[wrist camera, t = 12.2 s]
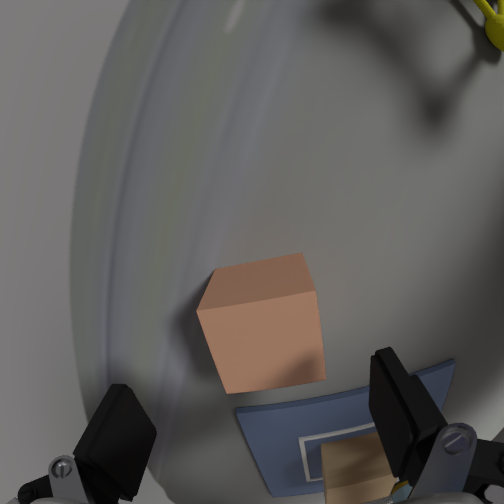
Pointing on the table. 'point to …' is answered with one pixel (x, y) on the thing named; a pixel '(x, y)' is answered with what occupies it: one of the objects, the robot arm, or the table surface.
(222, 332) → the terracotta cube
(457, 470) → the robot arm
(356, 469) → the oak block
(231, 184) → the table surface
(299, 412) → the board
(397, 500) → the bottle
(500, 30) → the educational toy
